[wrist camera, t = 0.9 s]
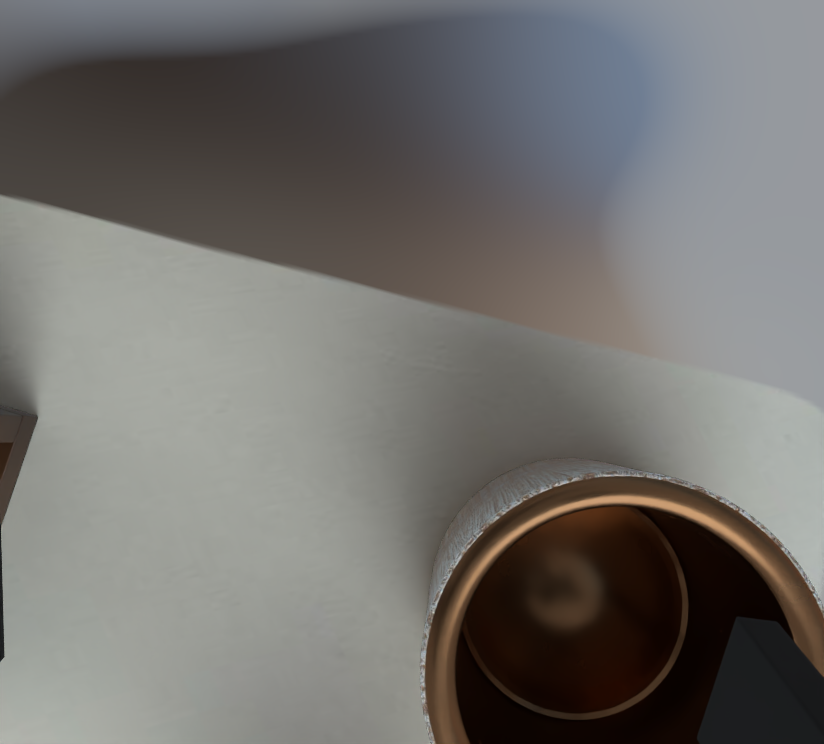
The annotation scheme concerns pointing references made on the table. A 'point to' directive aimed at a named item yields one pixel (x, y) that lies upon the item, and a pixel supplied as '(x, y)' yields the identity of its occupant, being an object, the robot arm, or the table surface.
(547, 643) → the planter
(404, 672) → the table surface
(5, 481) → the shelf
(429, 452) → the table surface
